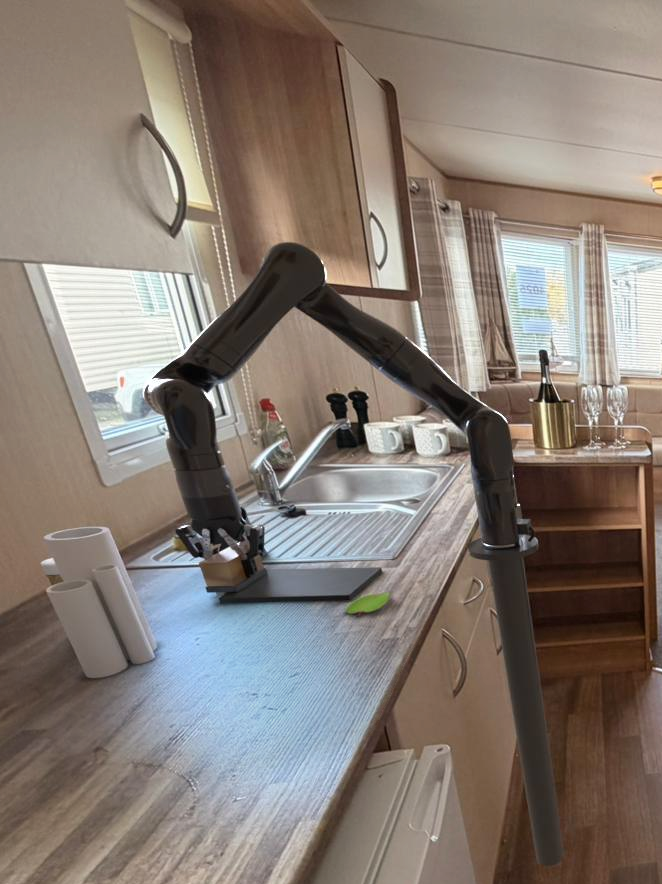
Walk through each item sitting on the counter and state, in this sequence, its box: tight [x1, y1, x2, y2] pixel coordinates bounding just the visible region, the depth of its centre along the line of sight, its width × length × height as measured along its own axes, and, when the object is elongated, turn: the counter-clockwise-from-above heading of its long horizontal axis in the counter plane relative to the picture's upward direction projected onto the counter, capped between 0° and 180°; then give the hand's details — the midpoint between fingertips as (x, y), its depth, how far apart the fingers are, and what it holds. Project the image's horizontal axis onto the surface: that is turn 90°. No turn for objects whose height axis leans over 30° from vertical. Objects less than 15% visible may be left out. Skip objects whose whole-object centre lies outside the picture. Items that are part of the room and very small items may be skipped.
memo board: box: [218, 566, 383, 605], centre depth 127 cm, size 22×15×1 cm
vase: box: [43, 526, 158, 679], centre depth 96 cm, size 11×7×20 cm, turn 31°
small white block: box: [215, 592, 228, 598], centre depth 123 cm, size 2×3×1 cm, turn 10°
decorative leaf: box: [346, 592, 390, 618], centre depth 121 cm, size 8×9×1 cm
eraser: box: [198, 547, 267, 594], centre depth 124 cm, size 5×10×6 cm, turn 10°
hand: (236, 576), depth 124 cm, fingers closed on eraser, 4 cm apart
